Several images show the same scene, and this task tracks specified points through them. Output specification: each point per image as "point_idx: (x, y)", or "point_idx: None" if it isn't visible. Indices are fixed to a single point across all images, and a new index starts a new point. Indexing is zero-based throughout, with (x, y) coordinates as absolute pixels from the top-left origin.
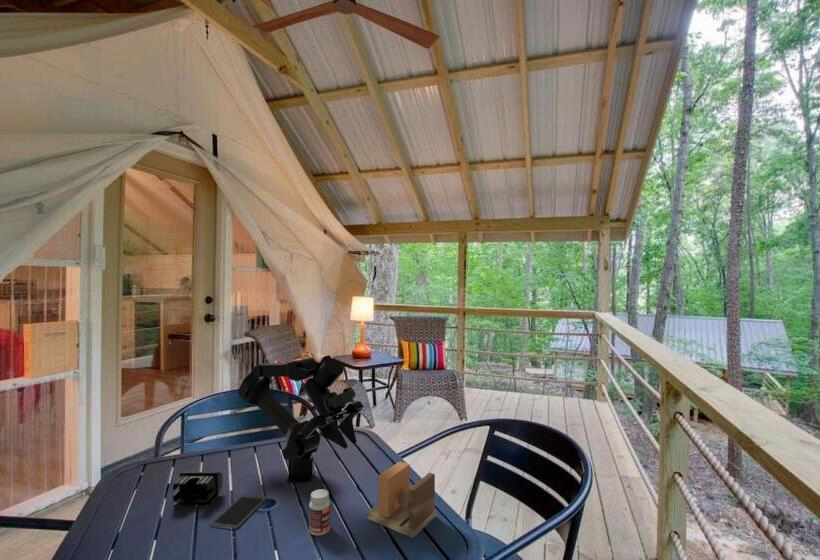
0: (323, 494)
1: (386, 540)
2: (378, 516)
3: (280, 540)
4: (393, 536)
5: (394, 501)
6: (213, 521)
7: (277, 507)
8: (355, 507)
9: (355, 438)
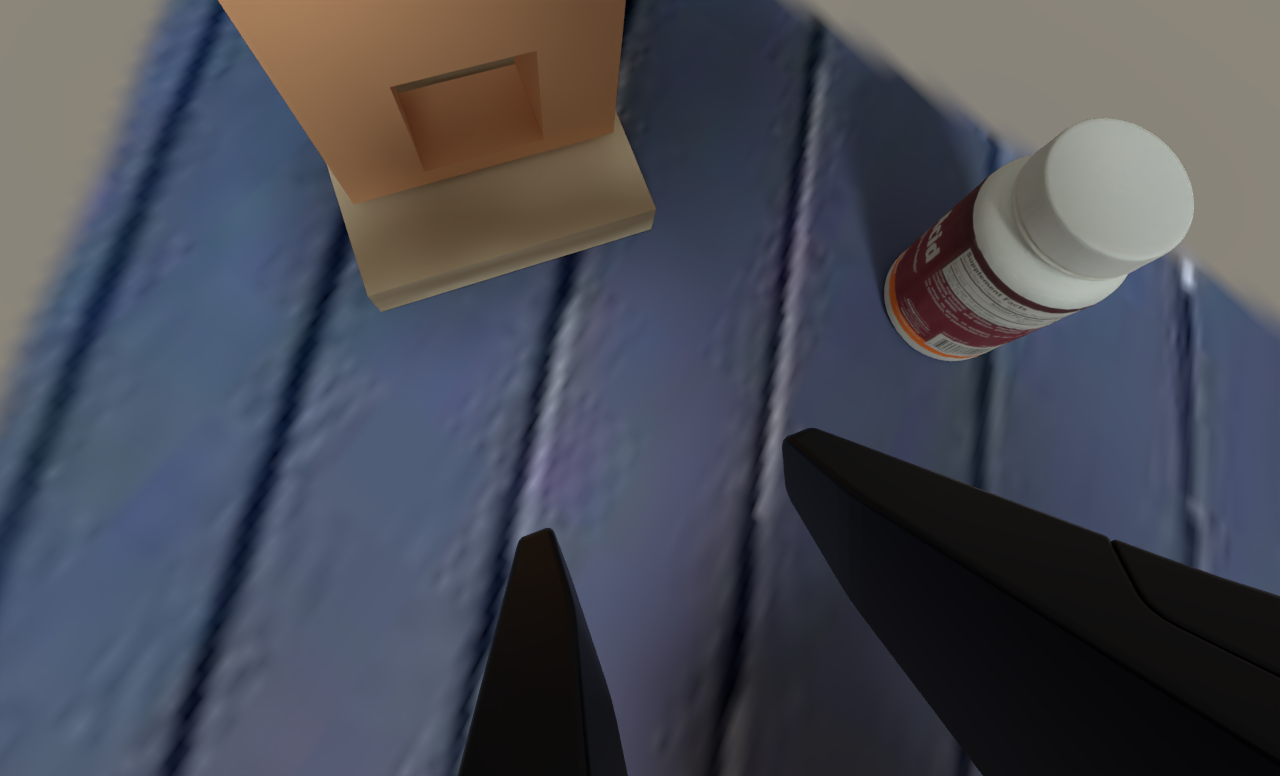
0: (1094, 158)
1: (661, 13)
2: (617, 127)
3: (1157, 346)
4: None
5: (450, 137)
6: None
7: None
8: (652, 380)
9: (523, 581)
